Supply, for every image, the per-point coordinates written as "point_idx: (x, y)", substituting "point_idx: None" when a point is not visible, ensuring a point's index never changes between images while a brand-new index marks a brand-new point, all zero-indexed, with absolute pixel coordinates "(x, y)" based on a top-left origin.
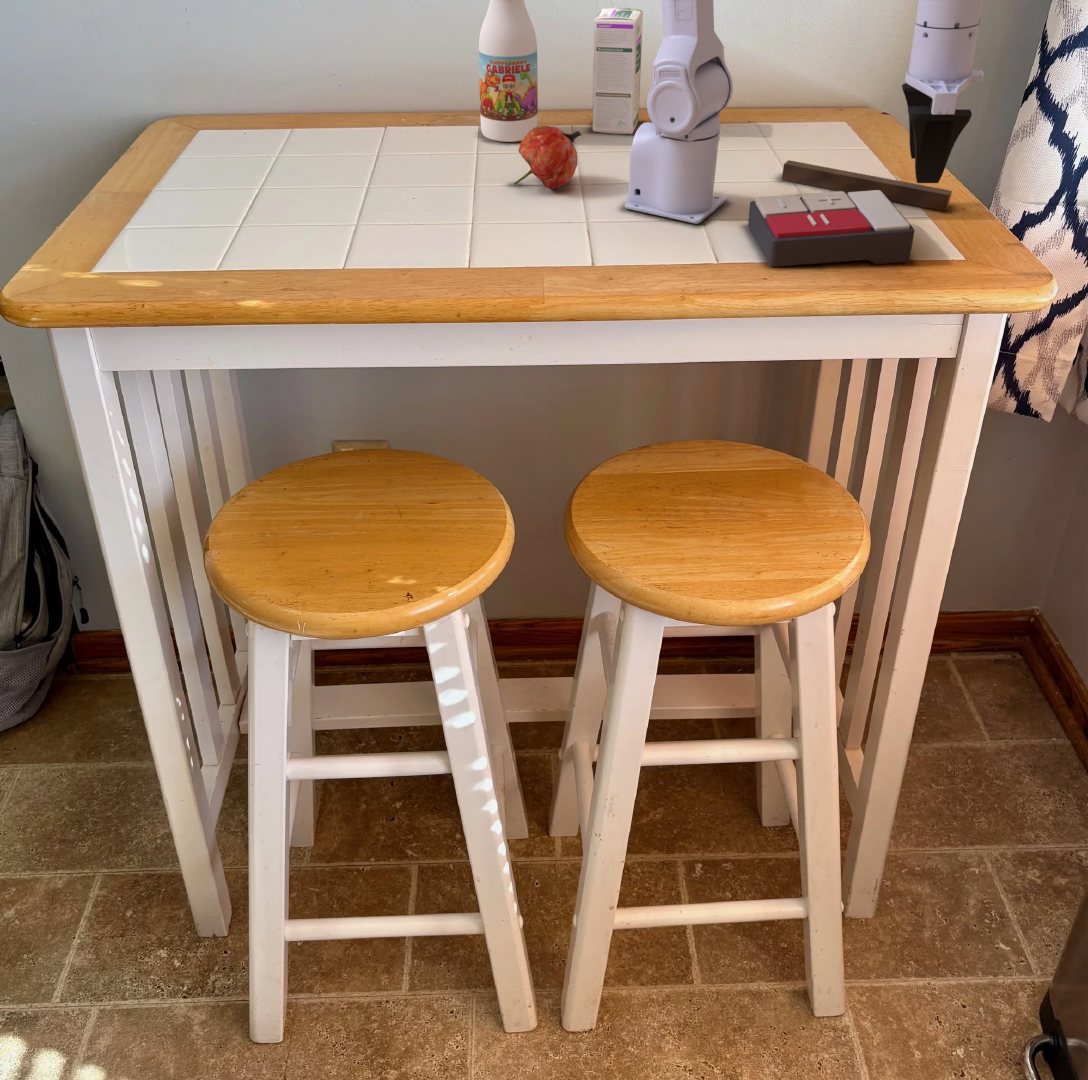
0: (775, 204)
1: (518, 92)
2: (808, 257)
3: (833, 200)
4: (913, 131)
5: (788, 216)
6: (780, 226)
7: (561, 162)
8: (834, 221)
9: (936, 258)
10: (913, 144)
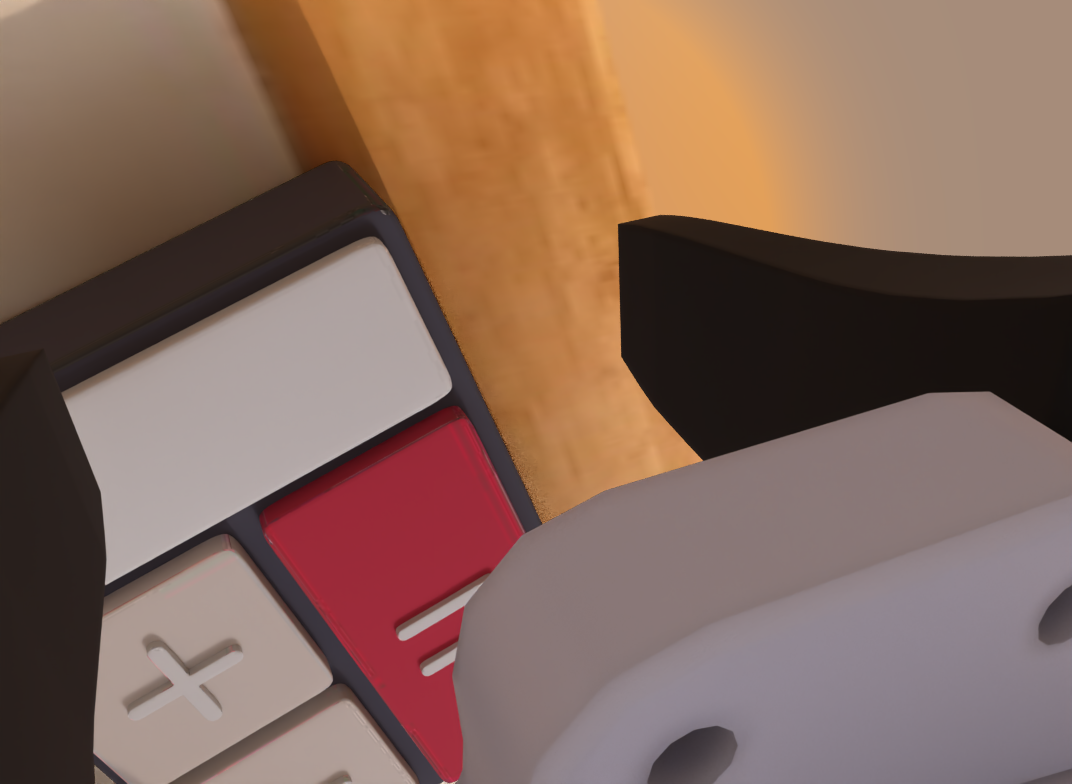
0: None
1: None
2: None
3: (180, 660)
4: (78, 663)
5: (438, 727)
6: None
7: None
8: (451, 567)
9: (203, 19)
10: (93, 566)
